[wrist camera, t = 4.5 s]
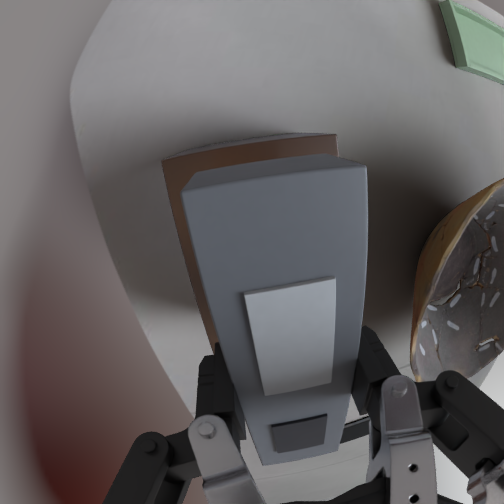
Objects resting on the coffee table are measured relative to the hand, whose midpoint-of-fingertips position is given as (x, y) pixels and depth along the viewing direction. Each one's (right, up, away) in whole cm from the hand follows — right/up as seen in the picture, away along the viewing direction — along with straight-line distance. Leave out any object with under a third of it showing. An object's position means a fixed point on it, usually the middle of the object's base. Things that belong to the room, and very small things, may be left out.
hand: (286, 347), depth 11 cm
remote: (0, 0, 0) cm, 0 cm away
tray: (+29, +29, +5) cm, 42 cm away
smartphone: (+16, -30, +30) cm, 45 cm away
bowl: (+23, +3, +16) cm, 28 cm away
